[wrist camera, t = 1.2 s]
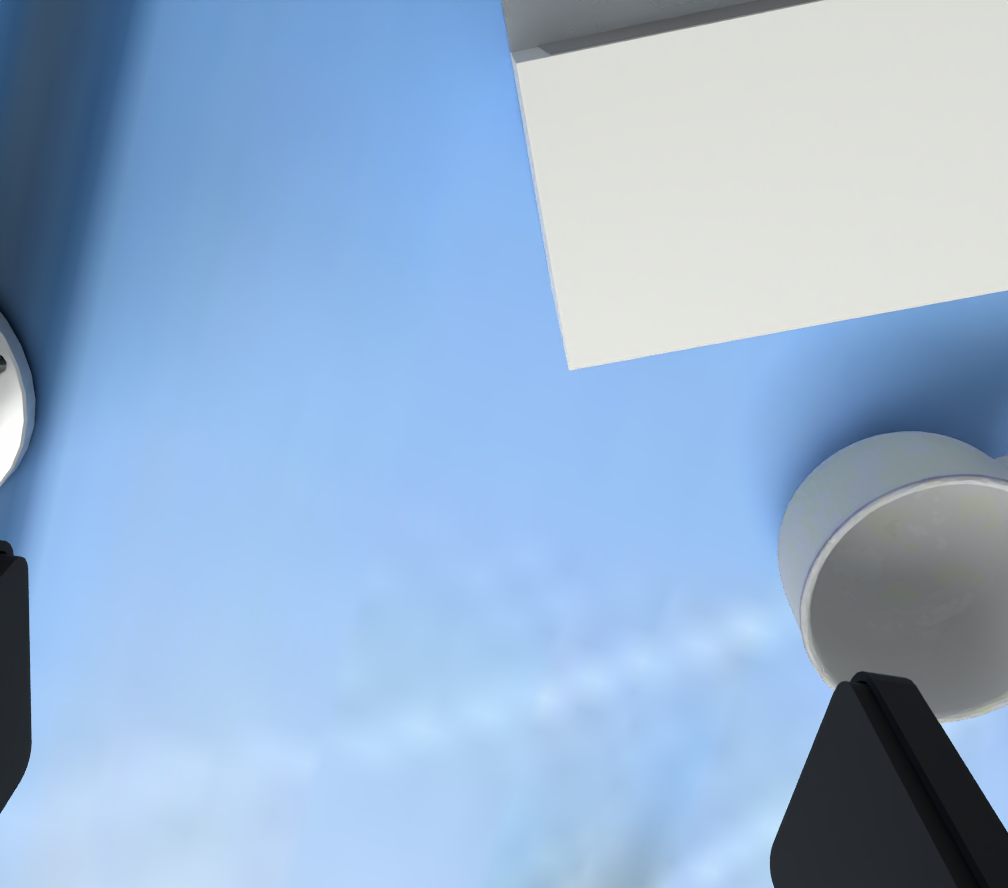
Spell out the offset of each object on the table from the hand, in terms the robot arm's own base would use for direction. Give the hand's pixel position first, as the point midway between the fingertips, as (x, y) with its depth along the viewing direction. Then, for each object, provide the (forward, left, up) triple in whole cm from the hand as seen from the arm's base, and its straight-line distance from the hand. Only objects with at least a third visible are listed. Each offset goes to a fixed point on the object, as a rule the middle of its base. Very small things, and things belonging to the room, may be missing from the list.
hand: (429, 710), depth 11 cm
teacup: (+16, -16, -30) cm, 37 cm away
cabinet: (+12, +1, -29) cm, 32 cm away
